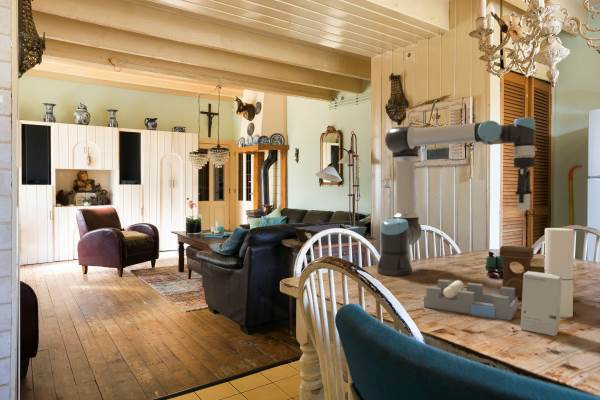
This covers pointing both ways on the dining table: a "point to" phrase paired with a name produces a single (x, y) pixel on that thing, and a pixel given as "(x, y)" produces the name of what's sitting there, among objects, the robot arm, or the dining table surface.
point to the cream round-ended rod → (453, 289)
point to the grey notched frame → (473, 301)
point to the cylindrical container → (561, 263)
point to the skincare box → (541, 303)
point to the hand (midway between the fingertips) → (523, 210)
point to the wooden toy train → (520, 256)
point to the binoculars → (494, 266)
